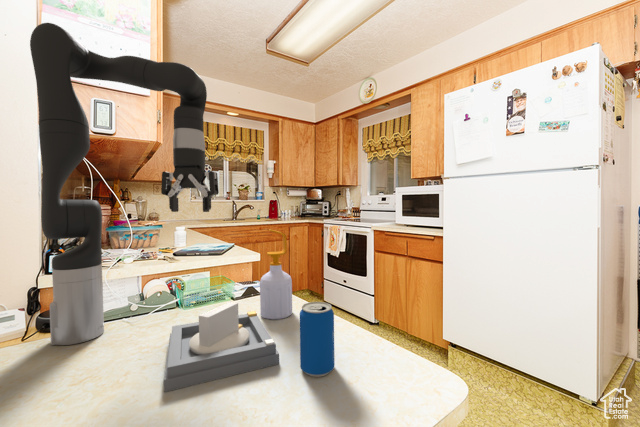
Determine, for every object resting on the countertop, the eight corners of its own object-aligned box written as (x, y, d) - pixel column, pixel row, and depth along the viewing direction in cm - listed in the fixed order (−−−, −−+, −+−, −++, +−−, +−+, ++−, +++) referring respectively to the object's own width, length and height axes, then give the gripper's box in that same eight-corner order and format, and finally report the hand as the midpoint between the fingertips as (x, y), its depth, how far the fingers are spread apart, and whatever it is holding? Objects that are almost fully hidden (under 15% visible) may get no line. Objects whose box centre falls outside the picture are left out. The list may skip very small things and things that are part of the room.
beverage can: (331, 381, 51) (330, 313, 51) (296, 377, 53) (295, 311, 52) (336, 361, 58) (336, 301, 57) (305, 358, 59) (304, 300, 59)
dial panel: (164, 392, 49) (163, 366, 49) (170, 342, 67) (169, 323, 67) (279, 363, 57) (278, 342, 57) (256, 326, 75) (256, 309, 75)
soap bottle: (259, 310, 87) (257, 228, 86) (289, 307, 89) (287, 227, 89) (262, 322, 78) (260, 230, 77) (295, 317, 81) (294, 229, 80)
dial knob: (222, 361, 54) (221, 323, 54) (176, 349, 59) (175, 315, 59) (260, 334, 65) (260, 303, 65) (219, 326, 70) (218, 297, 70)
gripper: (153, 146, 72) (155, 212, 72) (208, 145, 71) (210, 212, 71) (171, 152, 79) (173, 211, 80) (222, 151, 78) (223, 211, 79)
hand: (190, 211), depth 76 cm, fingers open, 8 cm apart
